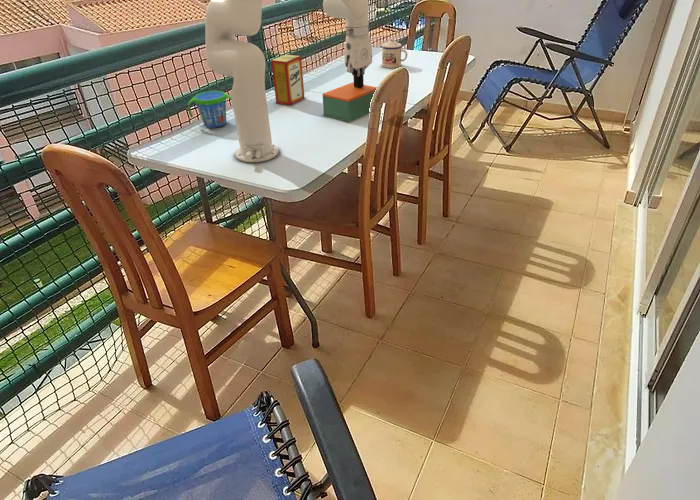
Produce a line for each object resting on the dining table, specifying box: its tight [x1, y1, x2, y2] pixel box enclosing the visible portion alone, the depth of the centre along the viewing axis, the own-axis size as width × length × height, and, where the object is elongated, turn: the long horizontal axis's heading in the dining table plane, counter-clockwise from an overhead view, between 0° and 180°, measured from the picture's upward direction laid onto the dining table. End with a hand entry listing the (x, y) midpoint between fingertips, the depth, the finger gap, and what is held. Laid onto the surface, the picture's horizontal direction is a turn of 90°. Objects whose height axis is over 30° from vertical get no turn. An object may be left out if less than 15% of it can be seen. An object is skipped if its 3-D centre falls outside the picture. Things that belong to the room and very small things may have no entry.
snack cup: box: [187, 90, 232, 129], centre depth 167 cm, size 16×10×10 cm
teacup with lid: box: [381, 37, 408, 69], centre depth 222 cm, size 12×9×12 cm
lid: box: [322, 81, 378, 102], centre depth 172 cm, size 16×12×1 cm
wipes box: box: [322, 91, 375, 123], centre depth 174 cm, size 16×12×7 cm
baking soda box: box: [270, 54, 305, 106], centre depth 184 cm, size 10×6×16 cm
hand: (358, 86), depth 174 cm, fingers closed
